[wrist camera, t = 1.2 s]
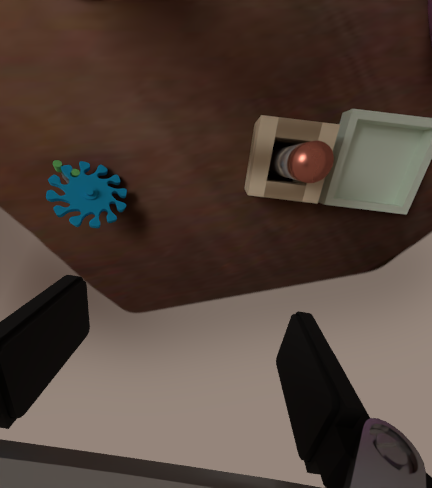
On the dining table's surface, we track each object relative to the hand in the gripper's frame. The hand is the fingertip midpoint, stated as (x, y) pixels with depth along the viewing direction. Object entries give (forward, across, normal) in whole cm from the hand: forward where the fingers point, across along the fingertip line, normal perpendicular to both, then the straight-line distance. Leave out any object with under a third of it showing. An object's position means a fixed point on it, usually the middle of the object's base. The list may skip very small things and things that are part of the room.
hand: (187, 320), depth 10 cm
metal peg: (+26, -8, -8) cm, 29 cm away
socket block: (+26, -8, -8) cm, 29 cm away
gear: (+27, +18, 0) cm, 32 cm away
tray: (+26, -21, -10) cm, 35 cm away
